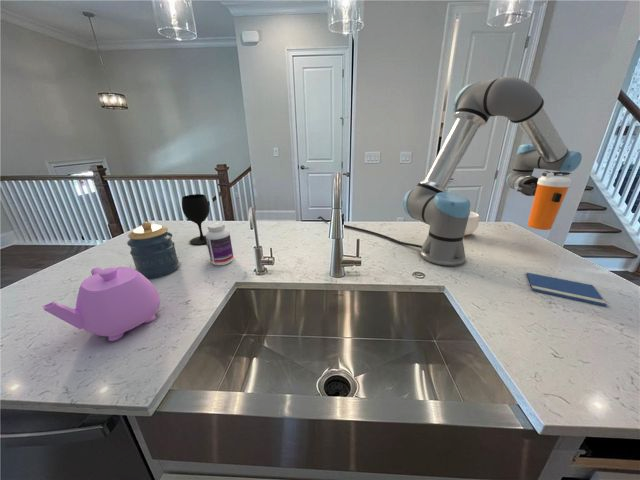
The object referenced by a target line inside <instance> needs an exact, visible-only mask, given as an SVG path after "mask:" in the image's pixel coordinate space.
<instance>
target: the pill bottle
mask: <svg viewBox="0 0 640 480" xmlns="http://www.w3.org/2000/svg"><path fill="white" fill-rule="evenodd" d="M207 230H208V231H207V232H206V234H205V236H206V240H207V244H206V245H207V250H208V255H209V259H210V263H211V264H212V265H214V266H225V265H229V264H231V262H233V260H234V259H235V258H234V252H233V245H232V238H231V234H230V231H229V230H228V229H227V228H226V225H225V223H224V222H212V223H209V224H208V225H207Z"/></svg>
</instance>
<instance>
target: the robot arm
mask: <svg viewBox="0 0 640 480" xmlns="http://www.w3.org/2000/svg"><path fill="white" fill-rule="evenodd" d="M453 106H454V107H453V112H454V114H453V119H454V123H453V125H452V126H451V129H450V131H449V132H448V133H447V136H446V138H445V140H444V141H443V144H442V145H441V148H440V150H439V151H438V153H437V155H436V157H435V159H434V161H433V163H432V165H431V166H430V168H429V170H428V172H427V174H426V176H425V177H424V179H423V180H421V181H418V182H417V185H416V186H415V188H410V190H408V191H407V192H406V193H405V196H404V197H403V199H402V207H403V210H404V212H405V214H406V215H407V216H409V217H410V218H411V219H414V220H416V221H419V222H421V223H424V224H426V225H429V229H428V235H427V237H426V238H425V241H424V243H423V244H422V245H420V244H415V243H410V242H405V241H400V240H398V239H395V238H393V237H390V236H387V235H386V234H385V235H384V234H382V233H378V232H375V231H372V230H368V229H366V228H365V229H364V228H361V227H356V226H352V225H349V224H343V225H344V228H347V229H352V230H356V231H361V232H365V233H368V234H371V235H375V236H378V237H381V238H384V239H387V240H390V241H392V242H393V243H397V244H399V245H403V246H408V247H414V248H419V249H420V252H419V254H420V257H421V258H422V259H423V260H425V261H426V262H429V263H431V264H434V265H438V266H442V267H457V266H461V265H463V264H464V262H465V260H466V252H465V251H466V250H465V245H464V238H465V236H464V234H465V230H466V225H467V221H468V217H469V214H470V212H471V201H470V200H469V198H467V197H466V196H464V195H461V194H459V193H453V192H448V191H447V190H446V188H447V186H448V185H449V183H450V181H451V180H452V177H453V176H454V174H455V172H456V170H457V168H458V166H459V165H460V163H461V161H462V159H463V158H464V156H465V153H466V152H467V151H468V149H469V147H470V145H471V143H472V141H473V139H474V138H475V136H476V134H477V132H478V130H479V129H481V128H484V127H485V126H486V125H487V123H488V121H489V119H490V118H491V117H505V118H506V119H508V120H509V121H510V123H512V124H516V125H517V126H518V128H519V129H520V130H521V131H522V133H523V134H524V136H525V137H526V139H527V140H528V141H529V143H527V144H520V145H519V146H518V148H517V152H516V154H515V158H514V163H513V166H512V170H511V173H509V174H508V175H507V177H506V181H505V182H506V184H507V186H508V187H509V188H510V189H513V190H515V191H516V192H519V193H520V194H521V195H524V196H526V197H535V193H536V189H537V182H538V179H539V178H540V177H537V176H534V175H533V173H534V170H535V169H537V170H545V171H552V172H569V173H571V172H574V171H575V170H576V169H578V167H579V166H580V164H581V162H582V160H583V159H582V157H583V156H582V153H581V152H580V151H574V150H569V149H568V147H567V146H566V144H565V142H564V141H563V138H562V137H561V135H560V134H559V132H558V130H557V129H556V127H555V125H554V124H553V121H551V118H550V117H549V115H548V114H547V112H546V111H545V108H544V106H545V100H544V99H543V97H542V95H541V94H540V92H539V91H538V90H537V89H536V88H535V87H534V86H533V85H532V84H530V83H529V82H527V80H524V79H522V78H520V77H516V76H511V75H510V76H509V75H507V76H501V77H498V78H493V79H488V80H483V81H482V80H481V81H475V82H472V83H469V84H467V85H466V86H464V87H462V89H460V90H459V92H458V93H457V94H456V97H455V98H454V102H453ZM561 196H562V194H560V193H554V195H553V198H552V201H553V202H560V199H561ZM317 219H318V220H320V219H321V220H322V221H323V222H325V223H328V222H329V221H330V220H328V219H325V218H323V217H322V216H321V215H320V216H318V217H317Z"/></svg>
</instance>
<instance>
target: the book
mask: <svg viewBox="0 0 640 480" xmlns="http://www.w3.org/2000/svg"><path fill="white" fill-rule="evenodd" d="M526 276H527V279H528V282H529V285H530V288H531V291H533V292H538V293H541V294H546V295H551V296H556V297H560V298H565V299H569V300H575V301H579V302H584V303H588V304H593V305H598V306H602V307H607V305H608V304H607V302H606V301H605V300H604V299H603V297H602V296H601V294H600V293H599V292H598V291H597V289H596V288H595V286H593V284H589V283H584V282H578V281H573V280H567V279H562V278H559V277H558V278H557V277H552V276H548V275H547V276H546V275H541V274H537V273H532V272H526Z"/></svg>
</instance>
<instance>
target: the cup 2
mask: <svg viewBox="0 0 640 480" xmlns="http://www.w3.org/2000/svg"><path fill="white" fill-rule="evenodd" d="M479 223H480V214H478V213H477V212H474V211H470V214H469V217H468V221H467V225H466V230H465V234H464V237H467V236H468V235H472V234H473V233H474V232H476V230H477V229H478V227H479Z"/></svg>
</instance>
